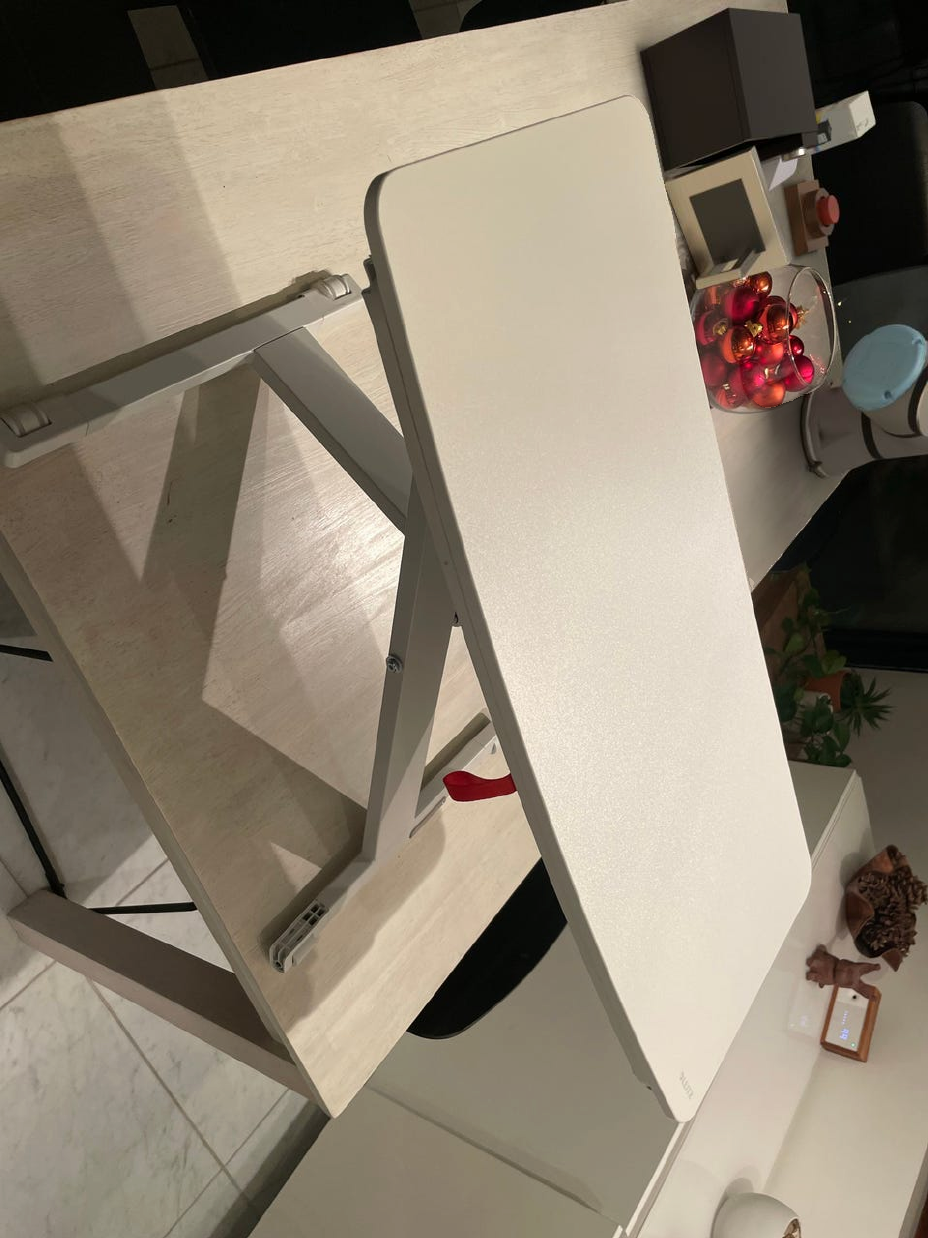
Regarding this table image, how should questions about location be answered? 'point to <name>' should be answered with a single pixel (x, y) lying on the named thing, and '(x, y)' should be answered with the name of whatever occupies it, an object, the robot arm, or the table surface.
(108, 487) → the table surface
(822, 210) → the button
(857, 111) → the ink box
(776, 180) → the wedge on round base
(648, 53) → the box
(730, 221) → the door
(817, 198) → the box
